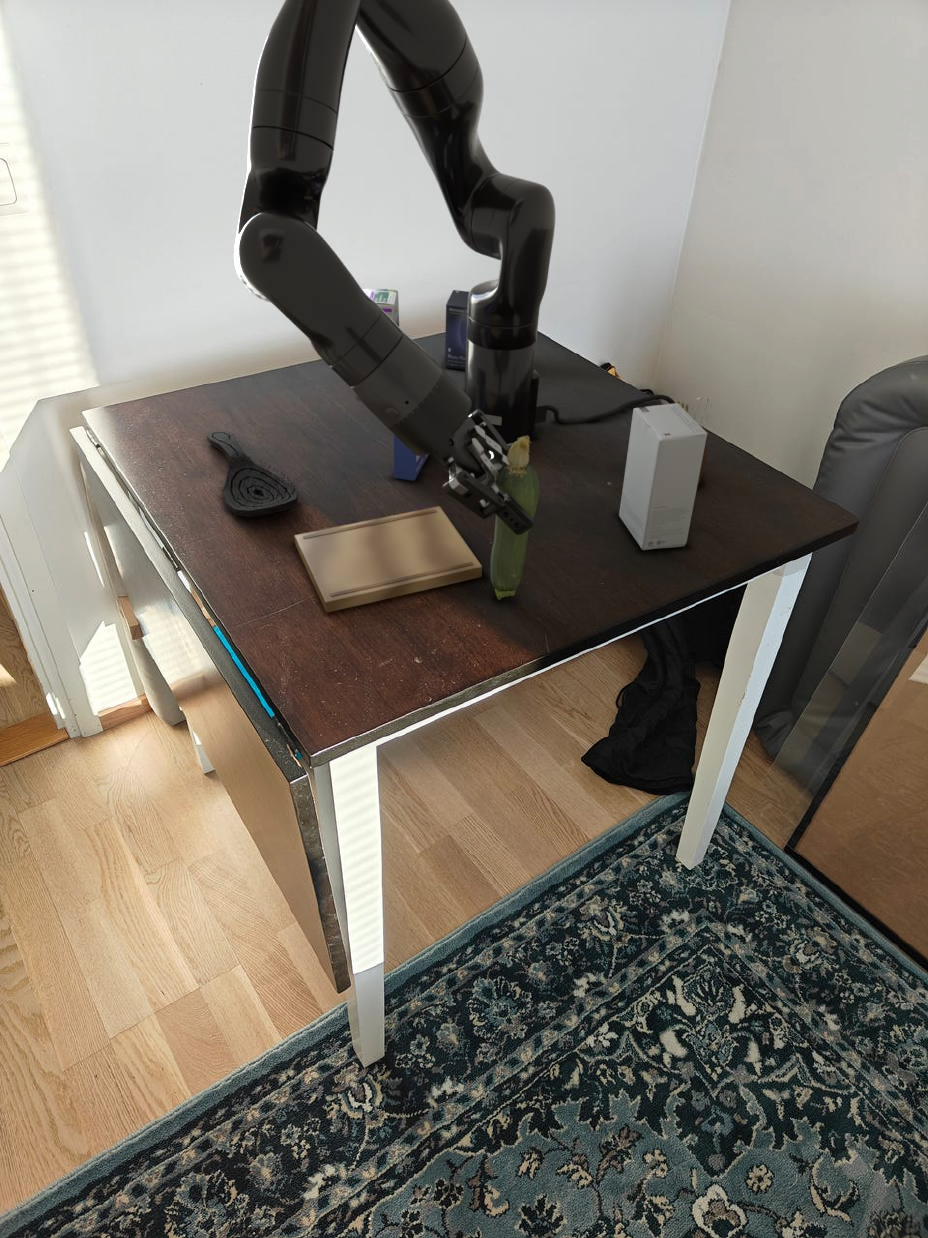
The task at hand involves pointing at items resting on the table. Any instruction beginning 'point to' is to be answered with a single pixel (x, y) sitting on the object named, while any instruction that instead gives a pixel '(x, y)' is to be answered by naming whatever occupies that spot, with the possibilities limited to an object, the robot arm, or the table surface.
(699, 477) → the utensil holder
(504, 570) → the vegetable
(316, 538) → the cutting board
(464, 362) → the small box
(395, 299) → the syrup box
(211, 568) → the table surface
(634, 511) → the cosmetic box
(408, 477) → the walkman
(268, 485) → the hairbrush
